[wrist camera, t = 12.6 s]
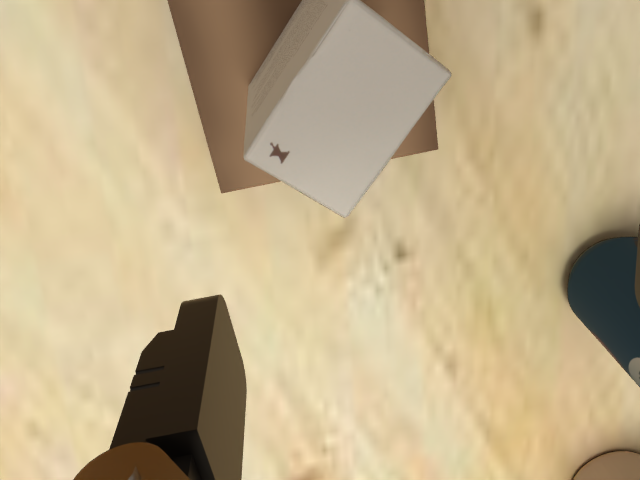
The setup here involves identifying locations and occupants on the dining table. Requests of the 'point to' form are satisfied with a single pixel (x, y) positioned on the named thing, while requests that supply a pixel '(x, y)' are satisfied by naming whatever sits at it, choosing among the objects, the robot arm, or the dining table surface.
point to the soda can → (609, 299)
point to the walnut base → (244, 62)
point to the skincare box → (337, 100)
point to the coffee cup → (612, 467)
